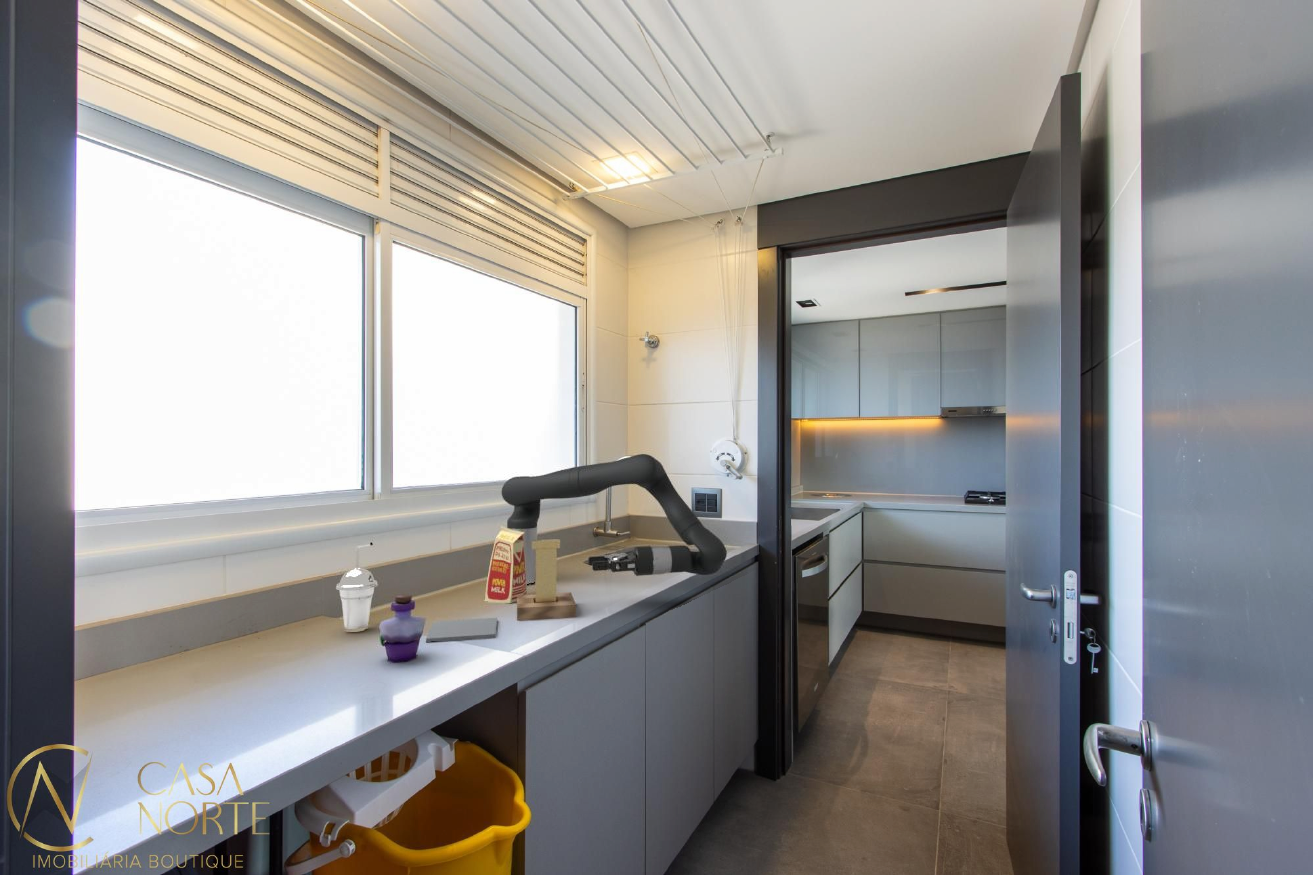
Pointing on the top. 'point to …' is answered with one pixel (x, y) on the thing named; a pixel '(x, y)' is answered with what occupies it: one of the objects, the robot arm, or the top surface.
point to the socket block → (545, 607)
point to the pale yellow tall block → (545, 569)
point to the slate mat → (463, 629)
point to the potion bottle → (402, 631)
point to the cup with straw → (356, 594)
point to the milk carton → (507, 568)
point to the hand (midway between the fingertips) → (590, 563)
